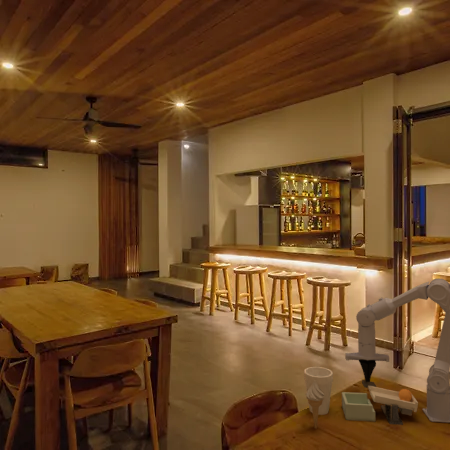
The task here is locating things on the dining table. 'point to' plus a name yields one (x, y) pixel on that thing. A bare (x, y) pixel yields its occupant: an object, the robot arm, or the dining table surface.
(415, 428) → the dining table surface
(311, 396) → the ice cream cone
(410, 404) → the lever board
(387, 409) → the lever stand
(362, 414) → the cup
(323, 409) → the foam cup
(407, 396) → the ball
